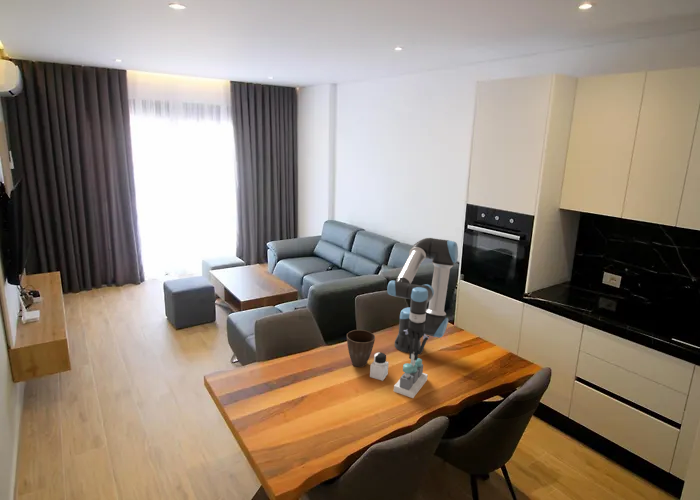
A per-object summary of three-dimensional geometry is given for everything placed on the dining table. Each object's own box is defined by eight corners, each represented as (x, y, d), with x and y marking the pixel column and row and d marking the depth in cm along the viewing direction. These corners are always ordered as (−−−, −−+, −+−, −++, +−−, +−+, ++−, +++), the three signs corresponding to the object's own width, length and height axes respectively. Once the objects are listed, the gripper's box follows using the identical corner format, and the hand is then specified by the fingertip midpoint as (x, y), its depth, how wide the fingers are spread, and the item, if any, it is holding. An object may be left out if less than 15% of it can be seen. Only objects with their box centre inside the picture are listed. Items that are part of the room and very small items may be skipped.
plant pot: (352, 354, 239) (354, 327, 235) (377, 361, 233) (379, 333, 228) (340, 366, 226) (341, 338, 222) (366, 373, 220) (368, 345, 215)
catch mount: (393, 391, 206) (394, 376, 203) (408, 373, 222) (410, 359, 220) (413, 398, 201) (414, 383, 199) (427, 379, 217) (428, 365, 215)
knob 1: (400, 380, 203) (401, 366, 201) (404, 376, 207) (405, 362, 205) (409, 384, 201) (410, 369, 199) (413, 379, 205) (414, 365, 203)
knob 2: (405, 380, 210) (406, 366, 208) (408, 376, 213) (410, 362, 211) (414, 383, 207) (415, 369, 205) (417, 378, 211) (418, 365, 209)
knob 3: (410, 374, 215) (411, 360, 213) (413, 370, 219) (414, 356, 217) (418, 377, 213) (420, 363, 211) (422, 373, 217) (423, 359, 215)
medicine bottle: (387, 374, 220) (389, 353, 217) (382, 381, 214) (384, 359, 211) (374, 370, 223) (376, 349, 220) (369, 377, 217) (371, 355, 214)
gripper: (401, 319, 202) (397, 364, 208) (427, 326, 196) (422, 372, 202) (407, 314, 209) (403, 358, 215) (433, 320, 202) (428, 366, 208)
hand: (412, 365), depth 208 cm, fingers closed
